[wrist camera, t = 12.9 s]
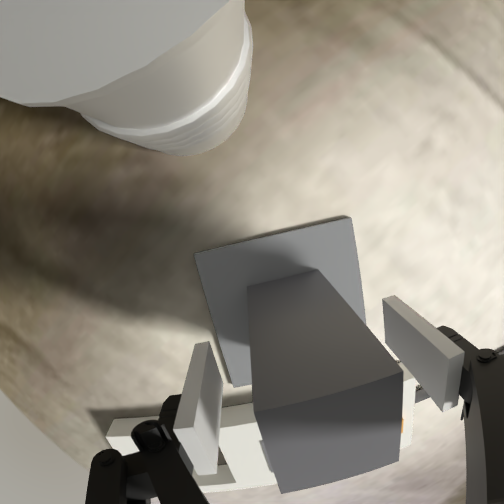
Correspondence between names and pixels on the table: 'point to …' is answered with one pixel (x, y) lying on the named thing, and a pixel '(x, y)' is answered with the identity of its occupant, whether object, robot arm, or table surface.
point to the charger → (320, 384)
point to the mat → (271, 268)
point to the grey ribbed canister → (132, 66)
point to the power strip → (251, 442)
